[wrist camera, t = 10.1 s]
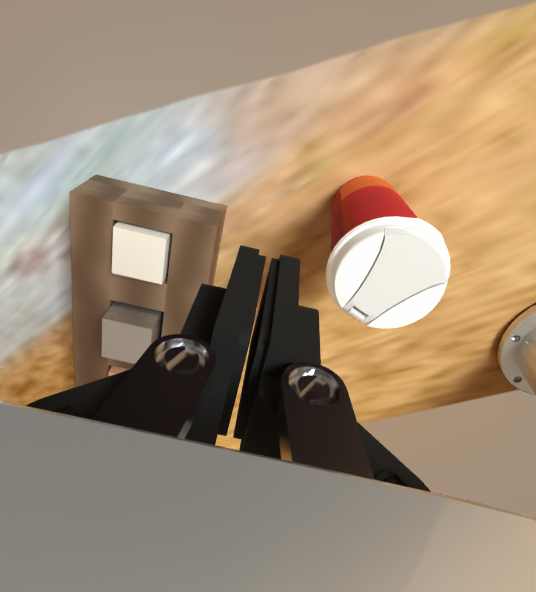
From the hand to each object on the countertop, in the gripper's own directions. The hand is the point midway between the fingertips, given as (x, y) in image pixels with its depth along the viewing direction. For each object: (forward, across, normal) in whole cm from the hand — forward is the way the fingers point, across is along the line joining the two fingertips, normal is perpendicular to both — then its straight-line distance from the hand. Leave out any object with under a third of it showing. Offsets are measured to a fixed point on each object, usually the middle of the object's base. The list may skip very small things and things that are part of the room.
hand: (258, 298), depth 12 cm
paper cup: (+27, -8, +5) cm, 29 cm away
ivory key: (+25, +10, +12) cm, 30 cm away
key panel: (+27, +10, +20) cm, 35 cm away
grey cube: (+24, +10, +20) cm, 33 cm away
